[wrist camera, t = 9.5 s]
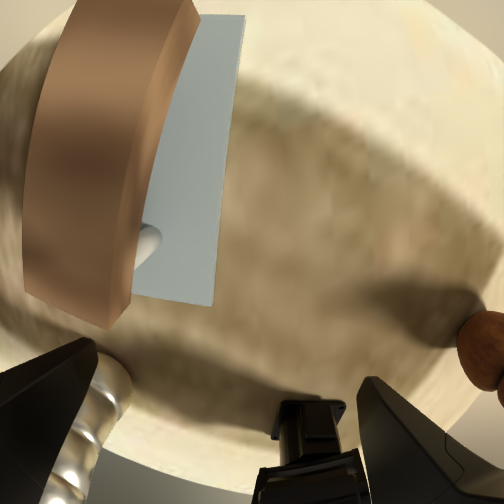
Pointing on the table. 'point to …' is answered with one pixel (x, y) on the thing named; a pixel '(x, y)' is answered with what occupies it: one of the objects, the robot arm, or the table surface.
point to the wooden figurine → (483, 351)
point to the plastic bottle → (89, 433)
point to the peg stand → (191, 171)
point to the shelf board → (99, 150)
